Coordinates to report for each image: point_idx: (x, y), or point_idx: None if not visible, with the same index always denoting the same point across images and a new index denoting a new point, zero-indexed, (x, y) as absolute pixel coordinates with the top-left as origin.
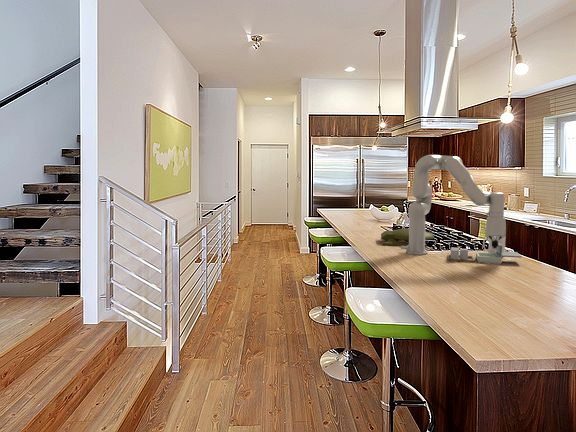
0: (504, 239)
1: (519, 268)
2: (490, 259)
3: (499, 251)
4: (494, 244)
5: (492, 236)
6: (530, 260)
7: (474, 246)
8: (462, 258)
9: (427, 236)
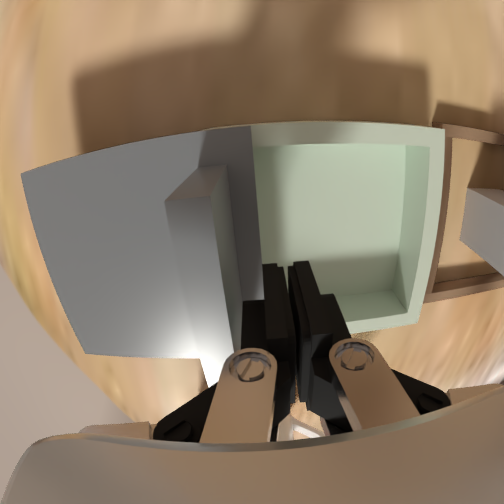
0: None
1: (85, 10)
2: (320, 121)
3: (220, 173)
4: (304, 291)
5: (394, 420)
6: (53, 328)
7: None
8: (499, 192)
9: None
